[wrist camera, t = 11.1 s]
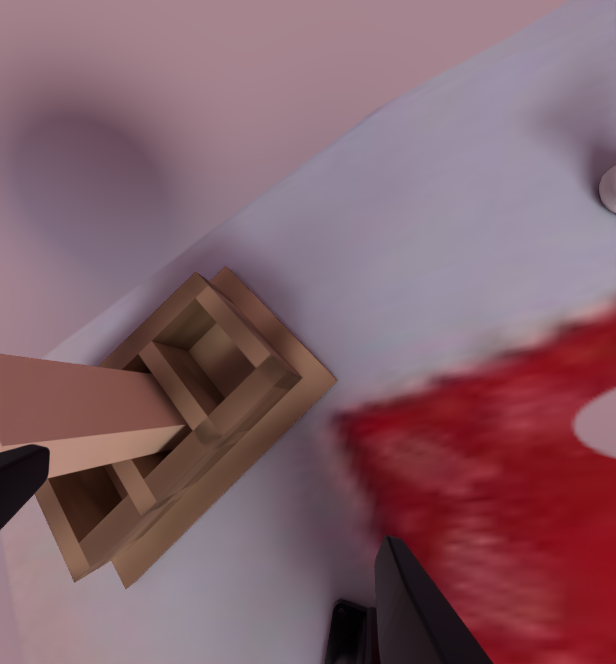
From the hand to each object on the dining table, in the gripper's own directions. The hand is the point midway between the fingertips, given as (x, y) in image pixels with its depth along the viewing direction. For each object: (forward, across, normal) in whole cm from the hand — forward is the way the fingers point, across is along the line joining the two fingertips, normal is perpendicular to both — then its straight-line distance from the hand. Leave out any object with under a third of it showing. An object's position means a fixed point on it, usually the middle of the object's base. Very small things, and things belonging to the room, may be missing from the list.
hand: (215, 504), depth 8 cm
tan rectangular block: (+13, +6, +6) cm, 16 cm away
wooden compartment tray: (+14, +6, +6) cm, 17 cm away
